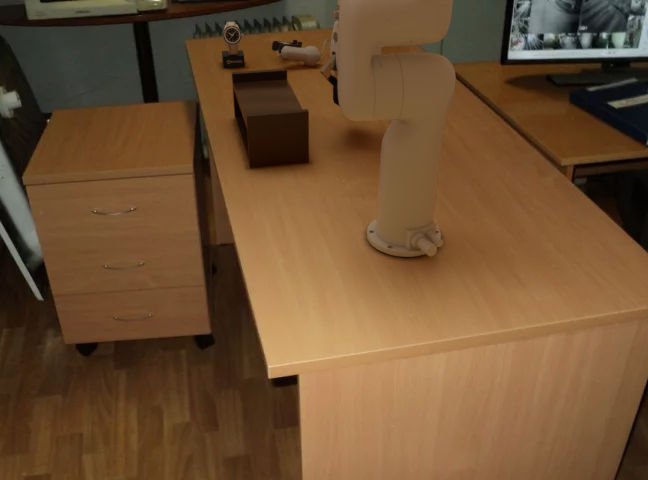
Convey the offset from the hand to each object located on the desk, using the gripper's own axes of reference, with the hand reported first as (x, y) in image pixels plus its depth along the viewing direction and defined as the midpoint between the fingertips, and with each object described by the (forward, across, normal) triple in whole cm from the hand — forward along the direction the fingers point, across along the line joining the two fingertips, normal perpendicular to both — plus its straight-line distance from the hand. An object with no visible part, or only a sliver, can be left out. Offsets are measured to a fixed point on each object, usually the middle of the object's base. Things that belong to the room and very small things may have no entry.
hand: (353, 100), depth 154 cm
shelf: (+8, -17, +7) cm, 20 cm away
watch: (+7, -4, +53) cm, 53 cm away
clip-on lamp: (+7, +15, +46) cm, 49 cm away
